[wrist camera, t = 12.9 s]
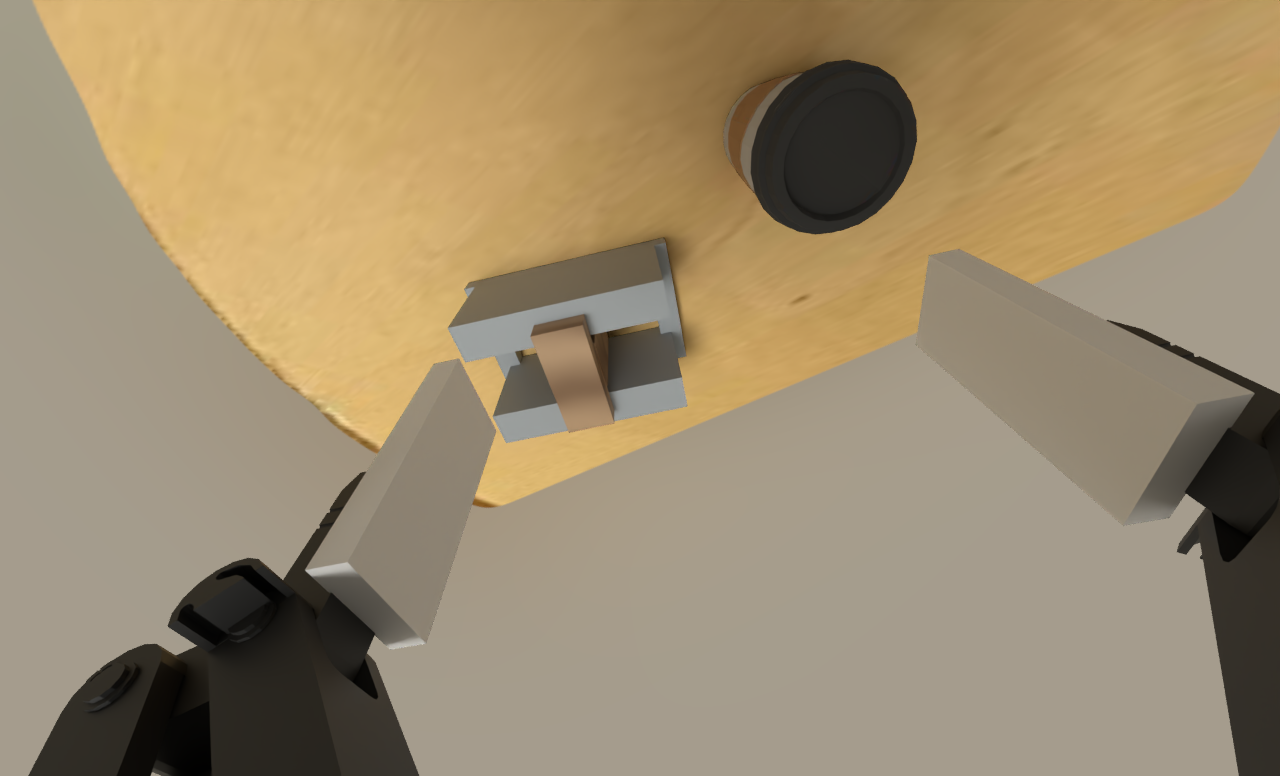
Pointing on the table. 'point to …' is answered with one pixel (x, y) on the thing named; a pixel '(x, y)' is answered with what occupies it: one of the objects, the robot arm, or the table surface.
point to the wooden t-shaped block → (576, 371)
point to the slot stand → (609, 299)
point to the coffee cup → (823, 144)
